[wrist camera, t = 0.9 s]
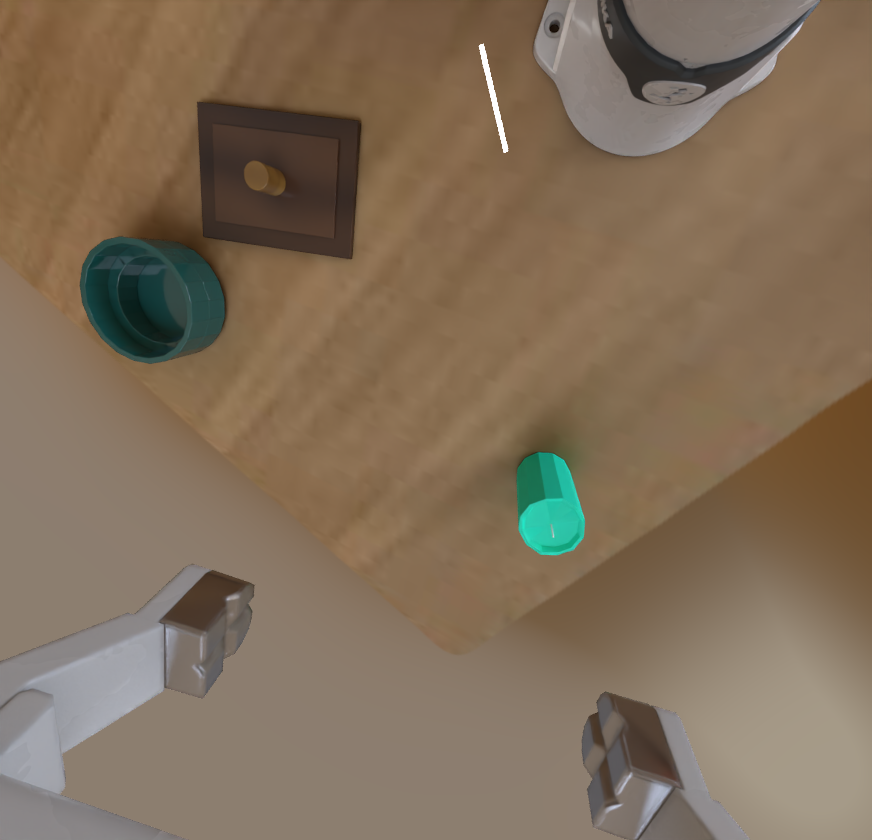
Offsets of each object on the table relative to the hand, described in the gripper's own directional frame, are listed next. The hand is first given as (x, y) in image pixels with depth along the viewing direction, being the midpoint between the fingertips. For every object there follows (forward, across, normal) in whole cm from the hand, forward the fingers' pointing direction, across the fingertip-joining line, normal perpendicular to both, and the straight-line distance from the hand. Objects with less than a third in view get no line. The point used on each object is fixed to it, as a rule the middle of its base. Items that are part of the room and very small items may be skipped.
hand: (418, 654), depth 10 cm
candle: (+39, -10, +13) cm, 42 cm away
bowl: (+38, +35, +4) cm, 52 cm away
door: (+39, +24, -10) cm, 47 cm away
